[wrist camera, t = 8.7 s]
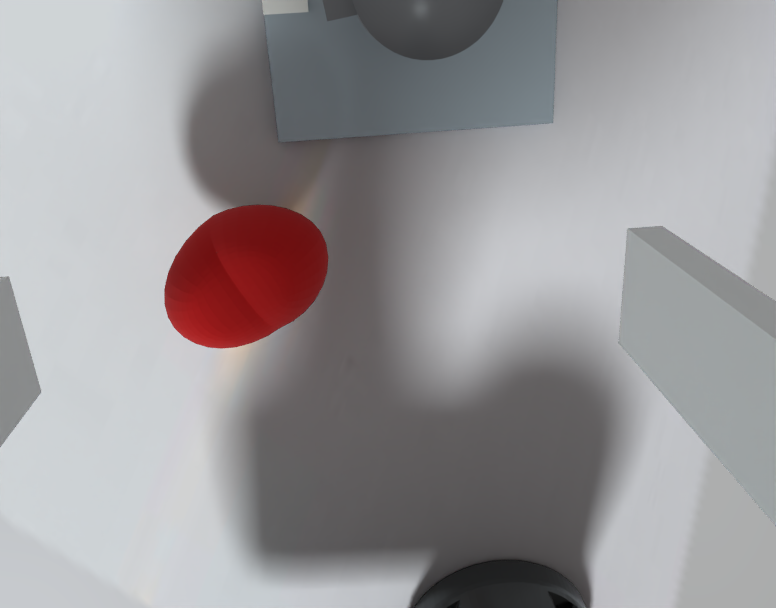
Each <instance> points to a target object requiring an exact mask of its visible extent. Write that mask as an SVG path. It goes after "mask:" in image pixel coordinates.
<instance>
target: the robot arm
mask: <svg viewBox="0 0 776 608" xmlns="http://www.w3.org/2000/svg"><path fill="white" fill-rule="evenodd" d="M618 343H619V344H620V345H621V346H622V348H623V349H624V350H625V351H626V352H627V353H628V355H629V356H630V357H631V358H632V359H633V360H634V362H635V363H636V364H637V365H638V366H639V367H640V369H641V370H642V371H643V372H644V373H645V374H646V376H647V377H648V378H649V379H650V380H651V381H652V383H653V384H654V385H655V386H656V387H657V388H658V390H659V391H660V392H661V393H662V394H663V395H664V397H665V398H666V399H667V400H668V401H669V402H670V404H671V405H672V406H673V407H674V408H675V409H676V411H677V412H678V413H679V414H680V415H681V416H682V418H683V419H684V420H685V421H686V422H687V423H688V425H689V426H690V427H691V428H692V429H693V430H694V432H695V433H696V434H697V435H698V436H699V437H700V439H701V440H702V441H703V442H704V443H705V444H706V446H707V447H708V448H709V449H710V450H711V451H712V453H713V454H714V455H715V456H716V457H717V458H718V459H719V461H720V462H721V463H722V464H723V465H724V467H725V468H726V469H727V470H728V471H729V472H730V473H731V475H732V476H733V477H734V478H735V479H736V480H737V482H738V483H739V484H740V485H741V486H742V487H743V489H744V490H745V491H746V492H747V493H748V494H749V496H750V497H751V498H752V499H753V500H754V501H755V503H756V504H757V505H758V506H759V507H760V508H761V510H762V511H763V512H764V513H765V514H766V515H767V517H768V518H769V519H770V520H771V521H772V522H773V524H774V525H775V526H776V301H775V300H773V299H772V298H770V297H769V296H767V295H765V294H764V293H762V292H761V291H759V290H758V289H756V288H755V287H753V286H752V285H750V284H749V283H747V282H746V281H744V280H743V279H741V278H740V277H738V276H737V275H735V274H734V273H732V272H731V271H729V270H728V269H726V268H725V267H723V266H722V265H720V264H719V263H717V262H716V261H714V260H713V259H711V258H710V257H708V256H707V255H705V254H704V253H702V252H701V251H699V250H697V249H696V248H694V247H693V246H691V245H690V244H688V243H687V242H685V241H684V240H682V239H681V238H679V237H678V236H676V235H675V234H673V233H672V232H670V231H669V230H667V229H666V228H664V227H663V226H655V227H642V228H629V229H627V240H626V253H625V265H624V278H623V291H622V304H621V317H620V329H619V342H618ZM40 393H41V389H40V385H39V382H38V378H37V375H36V371H35V368H34V364H33V360H32V357H31V353H30V350H29V346H28V343H27V339H26V336H25V332H24V329H23V325H22V321H21V318H20V314H19V311H18V307H17V304H16V300H15V297H14V293H13V289H12V286H11V282H10V279H9V276H8V277H0V447H1V446H2V444H3V443H4V442H5V440H6V439H7V437H8V436H9V435H10V433H11V432H12V431H13V429H14V428H15V427H16V425H17V424H18V423H19V421H20V420H21V419H22V417H23V416H24V415H25V413H26V412H27V411H28V409H29V408H30V407H31V405H32V404H33V403H34V401H35V400H36V399H37V397H38V396H39V395H40ZM414 608H586V606H585V604H584V602H583V599H582V597H581V595H580V594H579V592H578V591H577V589H576V588H575V587H574V585H573V584H572V583H571V582H570V581H568V580H567V579H566V578H565V577H563V576H562V575H561V574H559V573H557V572H556V571H553V570H551V569H549V568H547V567H544V566H541V565H538V564H534V563H530V562H523V561H494V562H487V563H482V564H478V565H474V566H471V567H468V568H465V569H463V570H460V571H458V572H456V573H454V574H452V575H450V576H448V577H446V578H445V579H443V580H442V581H440V582H439V583H437V584H436V585H435V586H433V587H432V588H431V589H430V590H429V591H428V592H427V593H426V594H425V595H424V596H423V597H422V598H421V599H420V600H419V602H418V603H417V604H416V606H415V607H414Z"/></svg>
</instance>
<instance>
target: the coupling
mask: <svg viewBox="0 0 776 608" xmlns="http://www.w3.org/2000/svg"><path fill="white" fill-rule="evenodd" d="M502 3H503V0H323V5H324V9H325V14H326V18H327V21H332V20H336V19H341V18H345V17H350V16H354V15H357V16H358V18H359V20H360V21H361V23H362V25H363V26H364V27H365V29H366V30H367V31H368V32H369V33H370V34H371V35H372V36H373V38H374V39H376V40H377V41H378V42H379V43H381V44H382V45H383V46H385V47H386V48H388V49H389V50H391V51H393V52H394V53H397V54H399V55H401V56H404V57H408V58H411V59H417V60H437V59H443V58H447V57H450V56H453V55H455V54H458V53H460V52H462V51H464V50H465V49H467V48H468V47H470V46H471V45H473V44H474V43H475V42H476V41H478V40H479V39H480V38H481V37H482V36H483V35H484V34H485V33H486V31H487V30H488V29H489V27H490V26H491V25H492V23H493V22H494V20H495V18H496V16H497V15H498V13H499V10H500V8H501V6H502Z"/></svg>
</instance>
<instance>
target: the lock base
mask: <svg viewBox="0 0 776 608" xmlns="http://www.w3.org/2000/svg"><path fill="white" fill-rule="evenodd" d="M262 7H263V15H264V20H265V29H266V38H267V46H268V55H269V64H270V72H271V81H272V90H273V98H274V107H275V116H276V124H277V133H278V142H292V141H307V140H321V139H335V138H349V137H364V136H378V135H392V134H406V133H421V132H435V131H449V130H463V129H478V128H492V127H506V126H521V125H535V124H549V123H553V112H554V83H555V53H556V24H557V0H503V3H502V6H501V8H500V10H499V13H498V15H497V16H496V18H495V20H494V22H493V23H492V25H491V26H490V27H489V29H488V30H487V31H486V33H485V34H484V35H483V36H482V37H481V38H480V39H479V40H478V41H476V42H475V43H474V44H473V45H471V46H470V47H468V48H467V49H465V50H464V51H462V52H460V53H458V54H455V55H453V56H450V57H447V58H443V59H437V60H417V59H411V58H408V57H404V56H401V55H399V54H397V53H394V52H393V51H391V50H389V49H388V48H386V47H385V46H383V45H382V44H381V43H379V42H378V41H377V40H376V39H374V38H373V36H372V35H371V34H370V33H369V32H368V31H367V30H366V29H365V27H364V26H363V25H362V23H361V21H360V20H359V18H358V16H357V15H354V16H350V17H345V18H341V19H336V20H332V21H327V18H326V14H325V9H324V5H323V0H262Z"/></svg>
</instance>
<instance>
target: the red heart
mask: <svg viewBox="0 0 776 608" xmlns="http://www.w3.org/2000/svg"><path fill="white" fill-rule="evenodd" d="M327 268H328V252H327V246H326V242H325V240H324V238H323V236H322V233H321V232H320V230H319V229H318V228H317V227H316V226H315V225H314V224H313V222H312V221H310V220H309V219H307V218H306V217H304V216H303V215H301V214H299V213H297V212H294V211H292V210H289V209H287V208H282V207H277V206H272V205H248V206H241V207H236V208H232V209H228V210H225V211H223V212H220V213H218V214H216V215H213V216H212V217H211V218H209V219H208V220H207V221H206V222H205V223H203V224H202V225H201V226H200V227H198V228H197V230H196V231H195V232H194V233H193V234H192V235H191V236H190V237H189V238H188V239H187V240H186V242H185V243H184V245H183V246H182V248H181V249H180V251H179V252H178V254H177V255H176V257H175V259H174V261H173V263H172V266H171V268H170V270H169V272H168V276H167V280H166V285H165V307H166V311H167V315H168V318H169V319H170V321H171V323H172V325H173V326H174V328H175V329H176V330H177V331H178V332H179V333H180V334H181V335H182V336H183V337H185V338H187V339H188V340H190V341H192V342H194V343H196V344H199V345H202V346H206V347H211V348H231V347H238V346H242V345H246V344H249V343H253V342H255V341H257V340H259V339H262V338H264V337H266V336H268V335H270V334H271V333H273V332H274V331H276V330H278V329H279V328H281V327H283V326H285V325H286V324H288V323H290V322H292V321H294V320H295V319H296V318H298V317H299V316H300V315H301V314H303V313H304V312H305V311H306V310H307V309H308V307H309V306H310V305H311V304H312V303H313V302H314V300H315V299H316V297H317V296H318V294H319V292H320V290H321V288H322V286H323V284H324V281H325V277H326V274H327Z"/></svg>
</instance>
